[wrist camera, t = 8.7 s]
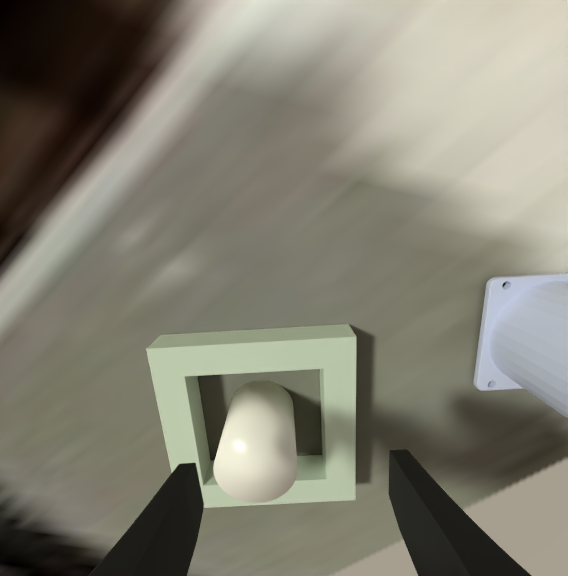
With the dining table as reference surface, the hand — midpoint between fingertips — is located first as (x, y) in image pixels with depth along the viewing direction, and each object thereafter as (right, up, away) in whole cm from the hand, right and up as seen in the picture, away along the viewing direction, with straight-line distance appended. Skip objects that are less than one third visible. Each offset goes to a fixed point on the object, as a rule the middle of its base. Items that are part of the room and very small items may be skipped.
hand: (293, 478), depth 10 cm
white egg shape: (-2, -2, +10) cm, 10 cm away
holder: (-2, -2, +10) cm, 10 cm away
